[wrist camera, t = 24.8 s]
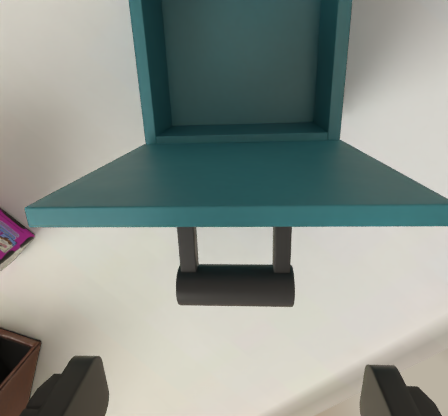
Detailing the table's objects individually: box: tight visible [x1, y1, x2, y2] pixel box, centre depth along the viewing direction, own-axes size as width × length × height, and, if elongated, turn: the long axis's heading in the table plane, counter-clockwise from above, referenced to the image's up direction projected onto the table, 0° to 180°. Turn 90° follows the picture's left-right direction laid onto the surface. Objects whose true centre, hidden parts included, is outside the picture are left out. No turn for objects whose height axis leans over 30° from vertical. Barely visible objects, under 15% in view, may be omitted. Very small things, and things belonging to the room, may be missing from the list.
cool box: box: [129, 0, 352, 144], centre depth 26 cm, size 14×15×7 cm
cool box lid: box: [25, 140, 448, 307], centre depth 19 cm, size 15×15×5 cm
